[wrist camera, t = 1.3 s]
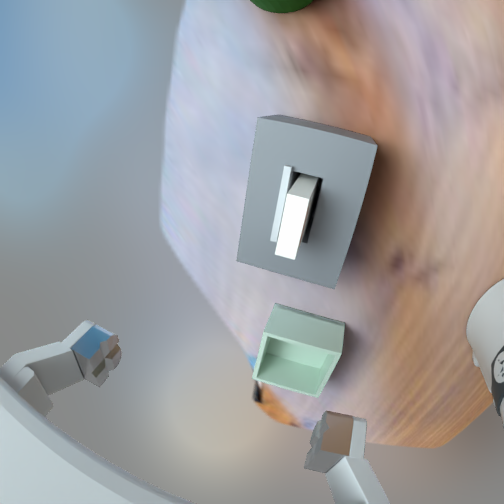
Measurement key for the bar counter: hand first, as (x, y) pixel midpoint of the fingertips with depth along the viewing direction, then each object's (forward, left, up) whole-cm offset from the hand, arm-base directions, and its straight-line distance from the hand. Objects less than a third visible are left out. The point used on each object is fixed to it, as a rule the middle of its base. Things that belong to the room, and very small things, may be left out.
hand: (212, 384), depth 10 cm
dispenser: (0, 0, -27) cm, 27 cm away
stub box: (-4, +22, -27) cm, 35 cm away
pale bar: (0, 0, -26) cm, 26 cm away
